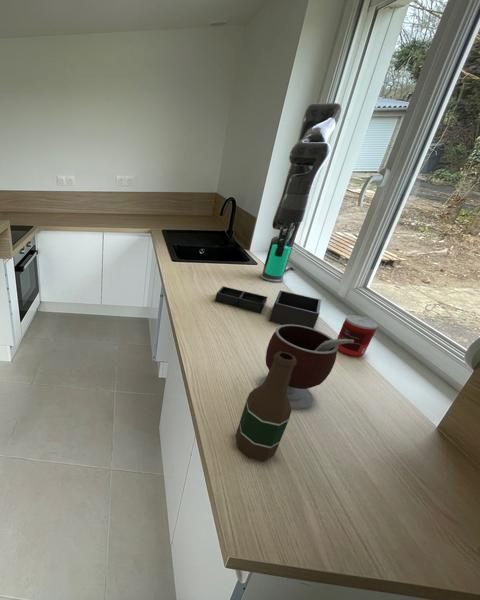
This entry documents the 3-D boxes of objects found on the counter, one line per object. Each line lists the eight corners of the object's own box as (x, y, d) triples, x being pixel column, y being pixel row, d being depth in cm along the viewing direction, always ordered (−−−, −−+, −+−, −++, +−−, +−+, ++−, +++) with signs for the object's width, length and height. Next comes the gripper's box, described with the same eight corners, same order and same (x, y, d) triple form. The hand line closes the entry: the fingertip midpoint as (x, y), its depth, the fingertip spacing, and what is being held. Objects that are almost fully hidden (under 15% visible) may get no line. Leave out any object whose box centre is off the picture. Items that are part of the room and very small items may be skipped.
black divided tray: (220, 294, 141) (222, 286, 139) (265, 305, 132) (267, 296, 130) (214, 301, 134) (216, 292, 133) (260, 313, 125) (263, 304, 123)
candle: (285, 276, 117) (295, 245, 112) (267, 275, 119) (276, 243, 113) (279, 271, 123) (289, 240, 117) (262, 269, 124) (271, 239, 119)
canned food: (357, 346, 105) (371, 317, 101) (368, 360, 98) (383, 329, 94) (330, 342, 108) (342, 313, 103) (338, 355, 101) (352, 324, 96)
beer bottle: (227, 433, 72) (253, 344, 62) (259, 431, 73) (291, 343, 63) (246, 464, 65) (279, 370, 55) (282, 462, 66) (322, 368, 56)
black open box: (274, 307, 130) (280, 290, 127) (314, 317, 123) (321, 299, 120) (268, 321, 120) (274, 303, 116) (311, 333, 113) (319, 314, 109)
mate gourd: (249, 394, 84) (270, 328, 75) (262, 369, 94) (282, 308, 85) (320, 424, 75) (353, 354, 66) (326, 393, 85) (356, 328, 76)
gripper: (304, 211, 103) (288, 261, 110) (308, 205, 113) (294, 251, 120) (277, 208, 107) (264, 256, 114) (284, 203, 117) (271, 247, 124)
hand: (279, 253), depth 117 cm, fingers closed on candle, 6 cm apart
